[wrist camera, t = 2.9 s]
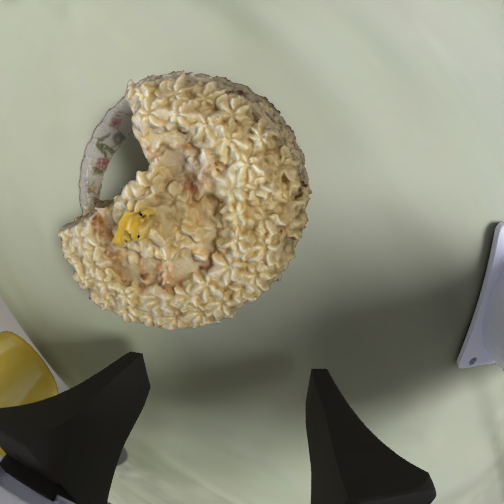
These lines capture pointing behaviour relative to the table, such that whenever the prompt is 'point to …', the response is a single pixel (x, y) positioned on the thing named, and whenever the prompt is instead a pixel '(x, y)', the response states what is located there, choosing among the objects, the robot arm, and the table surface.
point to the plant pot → (22, 374)
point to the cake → (189, 203)
